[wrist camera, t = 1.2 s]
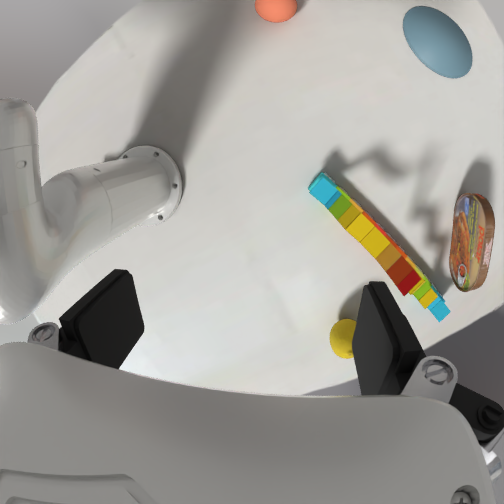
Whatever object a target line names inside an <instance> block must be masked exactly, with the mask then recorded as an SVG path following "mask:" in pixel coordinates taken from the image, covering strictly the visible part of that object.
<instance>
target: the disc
mask: <svg viewBox="0 0 504 504" xmlns="http://www.w3.org/2000/svg"><path fill="white" fill-rule="evenodd" d="M403 30H404V34H405V37H406V40H407V42H408V44H409V46H410V48H411V49H412V51H413V52H414V53H415V55H416V56H417V57H418V58H419V59H420V60H421V62H422V63H424V64H425V65H426V66H427V67H428V68H430V69H431V70H432V71H434V72H436V73H437V74H439V75H442V76H444V77H448V78H460V77H462V76H464V75H466V74H467V73H468V72H469V70H470V69H471V66H472V51H471V47H470V44H469V42H468V40H467V38H466V36H465V34H464V33H463V31H462V30H461V29H460V27H459V26H458V25H457V24H456V23H455V22H454V21H453V20H452V19H451V18H449V17H448V16H447V15H445V14H444V13H442V12H440V11H438V10H436V9H433V8H430V7H425V6H419V7H414V8H412V9H410V10H409V11H408V12H407V13H406V15H405V17H404V20H403Z"/></svg>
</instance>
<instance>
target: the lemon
mask: <svg viewBox="0 0 504 504" xmlns="http://www.w3.org/2000/svg"><path fill="white" fill-rule="evenodd" d="M355 327H356V321H354V320H352V319H342V320H340V321H338V322H337V323H336V324H335V325H334V326H333V327H332V329H331V332H330V344H331V347H332V349H333V351H334V352H335V354H336V355H338V356H339V357H341V358H346V359H348V358H353V357H354V356H353V351H352V339H353V335H354V331H355Z"/></svg>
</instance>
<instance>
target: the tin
mask: <svg viewBox="0 0 504 504" xmlns="http://www.w3.org/2000/svg"><path fill="white" fill-rule="evenodd" d="M494 230H495V218H494V213H493V210H492V207H491V205H490V203H489V202H488V200H487V199H486V198H485V197H483V196H482V195H480V194H471V193H464V194H462V195H461V196H460V197H459V198H458V200H457V202H456V205H455V209H454V219H453V231H452V241H451V249H450V257H449V265H450V273H451V276H452V279H453V282H454V284H455V285H456V287H457V288H458V289H459V290H460V291H462V292H468V291H470V290H474V289H477V288H479V287H480V286H481V285H482V284H483V283H484V281H485V279H486V276H487V272H488V268H489V262H490V257H491V251H492V245H493V238H494Z"/></svg>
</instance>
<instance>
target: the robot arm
mask: <svg viewBox="0 0 504 504" xmlns="http://www.w3.org/2000/svg"><path fill="white" fill-rule="evenodd" d="M158 153H159V156H158ZM176 184H177V186H176ZM181 194H182V180H181V175H180V172H179V169H178V167H177V165H176V163H175V162H174V160H173V159H172V158H171V157H170V156H169V154H167V153H166V152H165V151H163V150H161V149H159V148H157V147H154V146H137V147H134V148H131V149H129V150H128V151H126V152H125V153H124V154H123V155H122V156H120V158H119V159H118V160H114V161H108V162H103V163H98V164H93V165H88V166H84V167H79V168H75V169H70V170H66V171H64V172H61V173H59V174H57V175H55V176H54V177H52V178H51V179H50V180H48V181H47V182H46V183H45V184H44V185H43V186H42V187H41V178H40V165H39V145H38V123H37V117H36V113H35V111H34V109H33V107H32V106H31V105H30V104H29V103H28V102H27V101H24V100H22V99H17V98H5V99H0V324H12V323H16V322H18V321H21V320H23V319H24V318H26V317H28V316H29V315H31V314H32V313H33V312H34V311H35V310H37V309H38V308H39V307H40V306H41V305H42V304H43V303H44V302H45V300H46V299H47V298H48V297H49V296H50V294H51V293H52V292H53V291H54V289H55V288H56V287H57V285H58V284H59V283H60V282H61V281H62V279H63V278H64V277H65V276H66V275H67V274H68V273H69V272H70V271H71V270H72V269H73V268H74V267H76V266H77V265H78V264H79V263H81V262H82V261H83V260H85V259H86V258H87V257H89V256H90V255H92V254H93V253H95V252H96V251H98V250H99V249H101V248H102V247H104V246H105V245H107V244H109V243H110V242H112V241H113V240H115V239H116V238H118V237H120V236H121V235H123V234H124V233H126V232H128V231H129V230H131V229H133V228H134V227H136V226H137V225H139V226H145V227H149V226H155V225H158V224H160V223H162V222H164V221H165V220H167V219H168V218H169V217H170V216H171V215H172V214H173V213H174V212H175V210H176V208H177V207H178V205H179V202H180V199H181ZM162 216H163V217H162ZM59 320H60V323H61V325H62V327H61V328H60V329H59V327H58V325H57V324H55V323H52V322H47V323H43V324H40V325H38V326H37V327H35V328H34V329H33V330H32V331H31V332H30V334H29V337H28V343H26V342H13V343H12V342H11V343H6V344H3V345H1V346H0V504H504V410H503V409H502V407H501V406H500V405H499V404H498V403H496V402H494V401H492V400H490V399H488V398H486V397H484V396H482V395H480V394H478V393H476V392H474V391H472V390H470V389H468V388H466V387H464V386H462V385H460V384H458V383H456V382H457V377H458V373H457V370H456V368H455V366H454V365H453V364H452V363H451V362H450V361H448V360H446V359H445V358H442V357H439V356H429V357H426V355H425V353H424V351H423V349H422V347H421V345H420V343H419V341H418V339H417V337H416V335H415V333H414V331H413V329H412V328H411V326H410V324H409V322H408V320H407V318H406V317H405V315H403V314H402V312H401V310H400V308H399V306H398V304H397V303H396V301H395V299H394V297H393V296H392V294H391V292H390V290H389V289H388V287H387V285H386V283H385V282H374V281H370V282H369V284H368V285H365V286H364V288H363V294H362V299H361V304H360V309H359V313H358V318H357V322H356V327H355V331H354V335H353V339H352V351H353V356H354V360H355V365H356V370H357V374H358V379H359V384H360V389H361V394H362V396H297V395H275V394H261V393H249V392H239V391H231V390H222V389H215V388H208V387H201V386H195V385H188V384H183V383H177V382H172V381H167V380H162V379H157V378H152V377H148V376H143V375H139V374H135V373H131V372H127V371H123V370H119V368H120V366H121V365H122V363H123V362H124V360H125V359H126V357H127V356H128V354H129V353H130V351H131V350H132V349H133V347H134V346H135V344H136V343H137V341H138V340H139V338H140V337H141V336H142V334H143V332H144V322H143V319H142V315H141V311H140V307H139V303H138V299H137V294H136V290H135V285H134V281H133V277H132V275H131V274H130V273H129V272H128V271H127V270H121V269H115V270H113V271H112V272H111V273H110V274H108V275H107V276H106V277H105V278H104V279H102V280H101V281H100V282H99V283H98V284H97V285H95V286H94V287H93V288H92V289H91V290H90V291H89V292H87V293H86V294H85V295H84V296H83V297H82V298H81V299H80V300H78V301H77V302H76V303H75V304H74V305H73V306H72V307H71V308H70V309H68V310H67V311H66V312H65V313H64V314H63V315H62V316H61V317H60V318H59Z"/></svg>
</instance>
